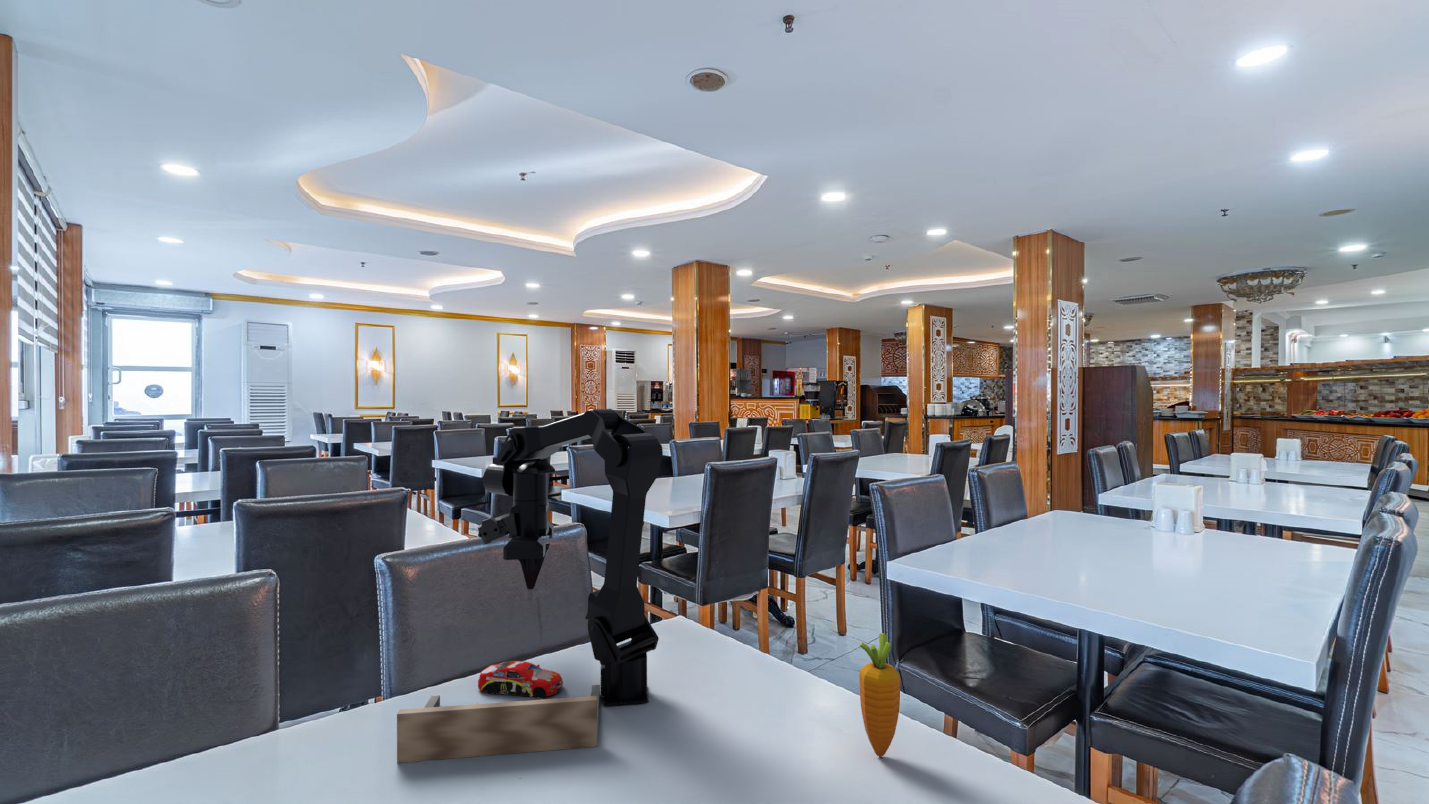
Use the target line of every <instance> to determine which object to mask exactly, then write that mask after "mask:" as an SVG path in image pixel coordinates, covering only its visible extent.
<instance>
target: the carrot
mask: <svg viewBox="0 0 1429 804" xmlns="http://www.w3.org/2000/svg"><path fill="white" fill-rule="evenodd" d="M878 640H879V641H878V642H879V647H878V648H877V646H876V645H875V644H871V645H870V646H869V645H867V644H866V643H864V642H863V641H862V642H860V643H859V647H860V648H861V649H862V650H864V651H865V652H866V654H867V655H868V656H869V658H870V660H871V661H870V662H867V664H865V665H864V666H862V667H861V668H860V669H859V670H860V671H859V675H858V677H859V697H860V700H859V701H860V709H861V715H862V721H863V724H864V730H865V734H866V736H867V738H868V740H869V743H870V745H871V747H872V749H873V751H874V753H875V755H876V756H877V757H878V756H879V757H881V758H883V756H885V755H886V754H887V751H888V749H889V747H890V746H891V744H892V742H893V738H894V737H895V734H896V730H897V726H898V721H899V715H900V704H901V702H900V701H901V675H900V672H899V671H897V669H896V668H895V667H894V666H893V665H891V664H889V663H887V657H888V655H889V653H890V650H891V648H892V645H891V643H890V642H888V635H887V634H885V633H883V632H882V633H881V632H880V633H879V634H878ZM879 757H878V758H879Z"/></svg>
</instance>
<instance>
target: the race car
mask: <svg viewBox="0 0 1429 804" xmlns="http://www.w3.org/2000/svg"><path fill="white" fill-rule="evenodd" d="M563 687H564V681H563V678H562V676H561V674H560V673H558V672H556V671H553V670H548V669H545V668H542V667H540V664H537V665H536V664H534V663H532V662H529V661H525V660H524V661H523V660H508V661H503V662H500V663H495V664H491V665H489V666H487V667H486V668H484V669H483V670H482V671H481V672H480V674H479V677H478V680H477V688H478V690H479V691H481V692H484V693H486V692H487V694H488V695H497V694H498V695H509V696H519V697H520V696H522V697H531V698H532V697H534V698H535V699H541V700H543V699H546V697H550V696H553V695H556V694H558V693H559V692H560V691H562V689H563Z"/></svg>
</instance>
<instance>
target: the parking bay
mask: <svg viewBox="0 0 1429 804" xmlns="http://www.w3.org/2000/svg"><path fill="white" fill-rule="evenodd" d="M590 690H591V691H590V695H589V696H588V695H587V696H576V697H574V696H573V697H561V698H558V697H557V698H547V699H546V698H544V699H533V700H532V699H531V700H517V701H505V702H503V701H501V702H490V703H487V702H486V703H475V704H473V703H472V704H463V705H462V704H461V705H459V704H458V705H445V706H441V695H430V697H429V698H428V701H427V702H426V704H425V705H424V707H420V708H419V707H417V708H405V709H404V708H402V709H399V710H398V712H397V713H396V763H397V764H399V763H400V764H401V763H413V762H424V761H425V762H426V761H435V760H436V761H437V760H448V759H460V758H461V759H462V758H471V757H472V758H473V757H484V756H497V755H498V756H499V755H500V756H501V755H511V754H521V753H533V752H535V753H536V752H546V751H556V750H557V751H559V750H569V749H570V750H571V749H583V748H584V749H585V748H593V747H594V748H596V747H598V734H599V732H598V731H599V716H600V715H599V714H600V698H601V684H591V688H590Z"/></svg>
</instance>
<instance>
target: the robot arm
mask: <svg viewBox="0 0 1429 804" xmlns="http://www.w3.org/2000/svg"><path fill="white" fill-rule="evenodd" d="M588 439H591V441H592V446H593V447H592V448H593V450H594V451H595V452H596V453H597V454H598V455H599V456H600V458H602V459H603V461H604V475H605V477H606V479H607V481H608V483H609V485H610V488H611V490H612V501H611V508H610V509H611V510H610V511H611V512H610V522H609V530H608V540H607V551H606V561H605V570H604V581H603V584H602V586H601V588H599V590H595V591H592V592H590V593H588V597H587V613H586V615H585V620H587V632H588V635H589V636H588V637H589V640H590V644H591V649H592V654H593V658H594V659H595V660H596V661H599V665H600V697H601V698H603V705H604V706H606V707H607V706H621V705H632V704H633V705H634V704H635V705H636V704H646V703H648V702H649V691H648V690H649V689H648V652H651V651H655V650H656V649H657V646H658V643H659V639H660V638H659V636H658V634H657V633H656V631H655V629H654V628H653V626H652V625H651V623H650V621H649V619H648V618H647V616H646V613H645V612H646V611H645V610H646V609H645V600H644V598H643V596H642V593H641V591H640V590H639V586H638V578H639V577H638V576H639V575H638V574H639V567H640V566H639V565H640V557H641V547H642V539H643V530H644V522H645V521H644V518H645V509H646V501H647V494H648V492H649V491H650V489H651V487H652V486H653V484H654V483H655V481H656V480H657V478H658V476H659V472H660V468H661V463H662V460H663V455H664V454H663V453H664V450H663V445H662V443H660V442H659V439H658V438H657V437H656V435H654V434H652V433H649V432H647V430H645V429H644V428H643V427H641V426H639V425H637V424H636V423H634V422H632V421H630V420H628V419H626V418H624V417H623V416H622V415H621V414H620V413H619V412H617V410H614V409H613V408H591V409H588V410H585V412H583V413H580V414H576V415H573V416H570V417H567V418H564V419H561V420H558V421H554V422H552V423H548V424H545V425H531V426H527V425H526V426H513V427H512V428H511V429H510V430H509V431H508V434H507V436H506V437H505V440H504V442H503V445H502V446H501V449H500V451H499V452H498V454H497V456H493V457H492V463H490V465H488V466H487V467H486V468H485V471H484V473H483V475H482V479H481V480H482V485H483V487H484V489H485V490H486V491H487V492H488V493H491V494H495V495H502V496H510V497H512V501H513V503H512V506H511V507H510V508H509V513H505V514H503V515H499V516H497V517H494V516H490V517H489V518H487V519H482V521H481V524H480V525H478V526H477V527H476V528H477V530H478V533H477V537H478V538H480V539H481V541H482V543H483V545H484V546H486V545H487V544H491V543H492V542H493V541H495V540H498V539H501V538H503V537H506V536H508V538H509V539H510V540H509V541H508V542H507V543H506V544H505V545H504V546H503V547H502V548H503V551H502V552H503V554H502V556H503V559H502V560H504V561H510V560H511V561H513V560H514V561H515V560H516V561H518V562H519V564H520V566H521V567H520V568H521V570H522V573H523V579H524V582H525V586H526V589H527V590H534V589H535V587H536V584H537V581H538V580H539V576H540V574H541V570H542V569H543V566H544V563H545V560H546V557H547V554H548V552H549V550H550V547H551V544H550V543H546V541H545V539H544V537H548V539H553V538H554V536H555V535H554V534H555V533H554V532H555V527H554V524H553V523H551V522H550V521H549V520H548V517H549V516H548V510H549V509H550V502H549V500H548V474H555V473H556V469H555V467H553V465H552V464H550V462H549V461H548V459H547V458H549V457H552V455H554V454H556V453H558V452H559V450H560V448H562V447H563V446H567V445H571V444H573V443H578V442H582V441H584V440H585V441H586V440H588ZM629 639H630V640H629ZM627 640H628V641H627ZM625 641H626V642H625ZM622 642H623V643H622ZM619 643H621V644H619ZM617 644H618V645H617Z"/></svg>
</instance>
